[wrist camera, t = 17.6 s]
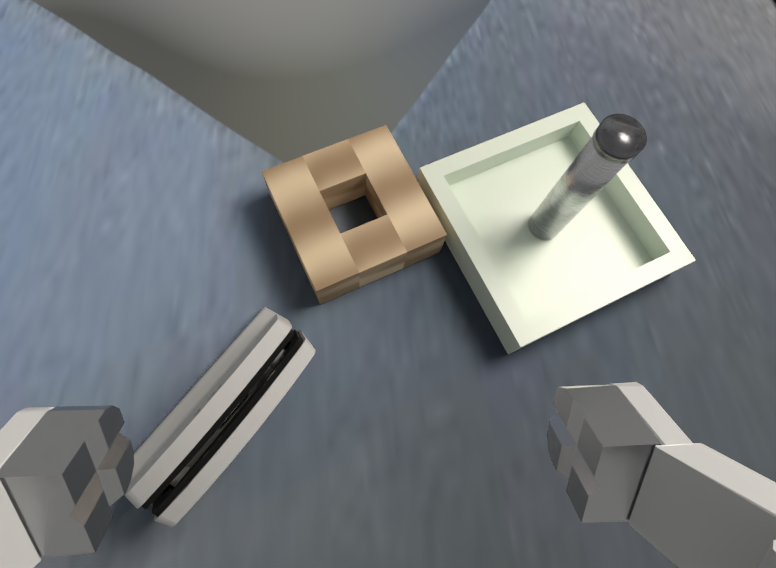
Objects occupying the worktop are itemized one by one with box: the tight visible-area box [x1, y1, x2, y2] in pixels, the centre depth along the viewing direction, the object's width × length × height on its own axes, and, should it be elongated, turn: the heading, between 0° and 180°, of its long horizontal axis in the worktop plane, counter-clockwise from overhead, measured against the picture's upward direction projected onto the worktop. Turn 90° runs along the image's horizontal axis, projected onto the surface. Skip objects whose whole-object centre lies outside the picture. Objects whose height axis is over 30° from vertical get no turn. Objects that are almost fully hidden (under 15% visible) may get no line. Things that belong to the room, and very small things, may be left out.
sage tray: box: [417, 103, 695, 354], centre depth 44 cm, size 18×18×4 cm
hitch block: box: [262, 125, 447, 305], centre depth 43 cm, size 12×12×4 cm
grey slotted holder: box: [125, 307, 316, 527], centre depth 35 cm, size 17×5×10 cm, turn 143°
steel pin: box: [528, 114, 647, 240], centre depth 38 cm, size 3×3×14 cm
